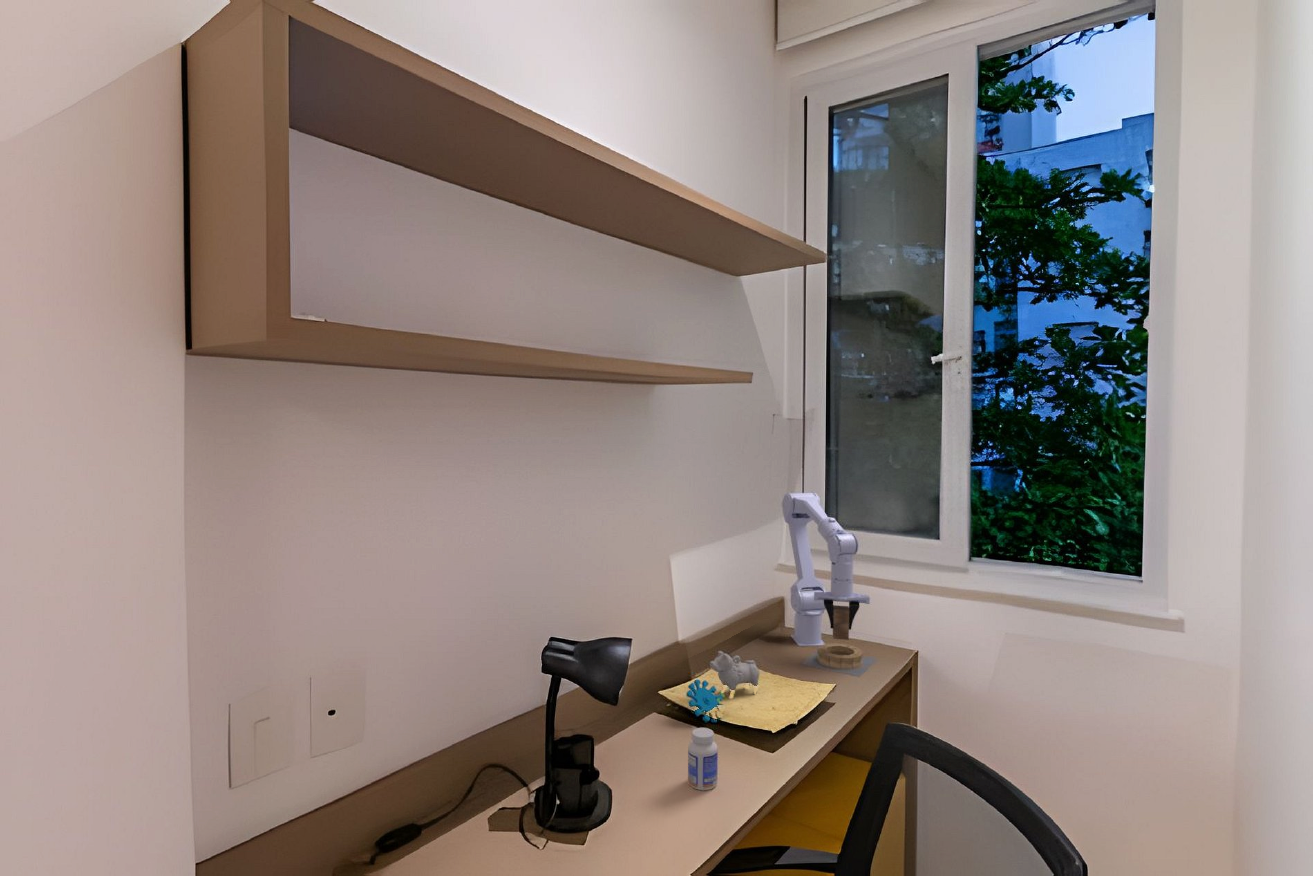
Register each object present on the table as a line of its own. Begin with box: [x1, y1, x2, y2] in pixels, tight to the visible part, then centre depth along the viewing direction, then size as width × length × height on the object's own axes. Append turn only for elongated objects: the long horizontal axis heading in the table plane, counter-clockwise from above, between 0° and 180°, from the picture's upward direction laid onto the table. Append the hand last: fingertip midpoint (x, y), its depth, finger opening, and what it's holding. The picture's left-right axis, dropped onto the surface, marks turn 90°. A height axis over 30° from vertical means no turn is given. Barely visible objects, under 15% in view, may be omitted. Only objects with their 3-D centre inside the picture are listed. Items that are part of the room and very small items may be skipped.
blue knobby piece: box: [685, 679, 725, 724], centre depth 165 cm, size 11×6×10 cm
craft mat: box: [800, 650, 879, 678], centre depth 199 cm, size 16×16×1 cm
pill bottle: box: [687, 727, 719, 791], centre depth 135 cm, size 5×5×10 cm
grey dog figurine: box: [709, 650, 760, 691], centre depth 177 cm, size 5×13×11 cm, turn 114°
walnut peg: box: [832, 604, 850, 641], centre depth 198 cm, size 4×4×8 cm
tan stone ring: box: [817, 642, 864, 669], centre depth 199 cm, size 12×12×3 cm
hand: (840, 628), depth 198 cm, fingers closed on walnut peg, 4 cm apart
